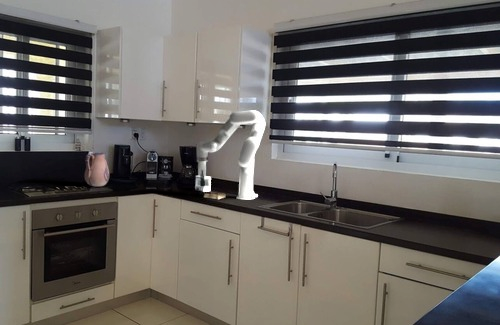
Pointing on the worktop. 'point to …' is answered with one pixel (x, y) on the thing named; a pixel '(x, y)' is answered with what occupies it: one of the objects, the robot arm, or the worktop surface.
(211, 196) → the oak board
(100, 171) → the ceramic pitcher
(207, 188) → the light bulb box
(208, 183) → the frame slab
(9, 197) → the worktop surface
